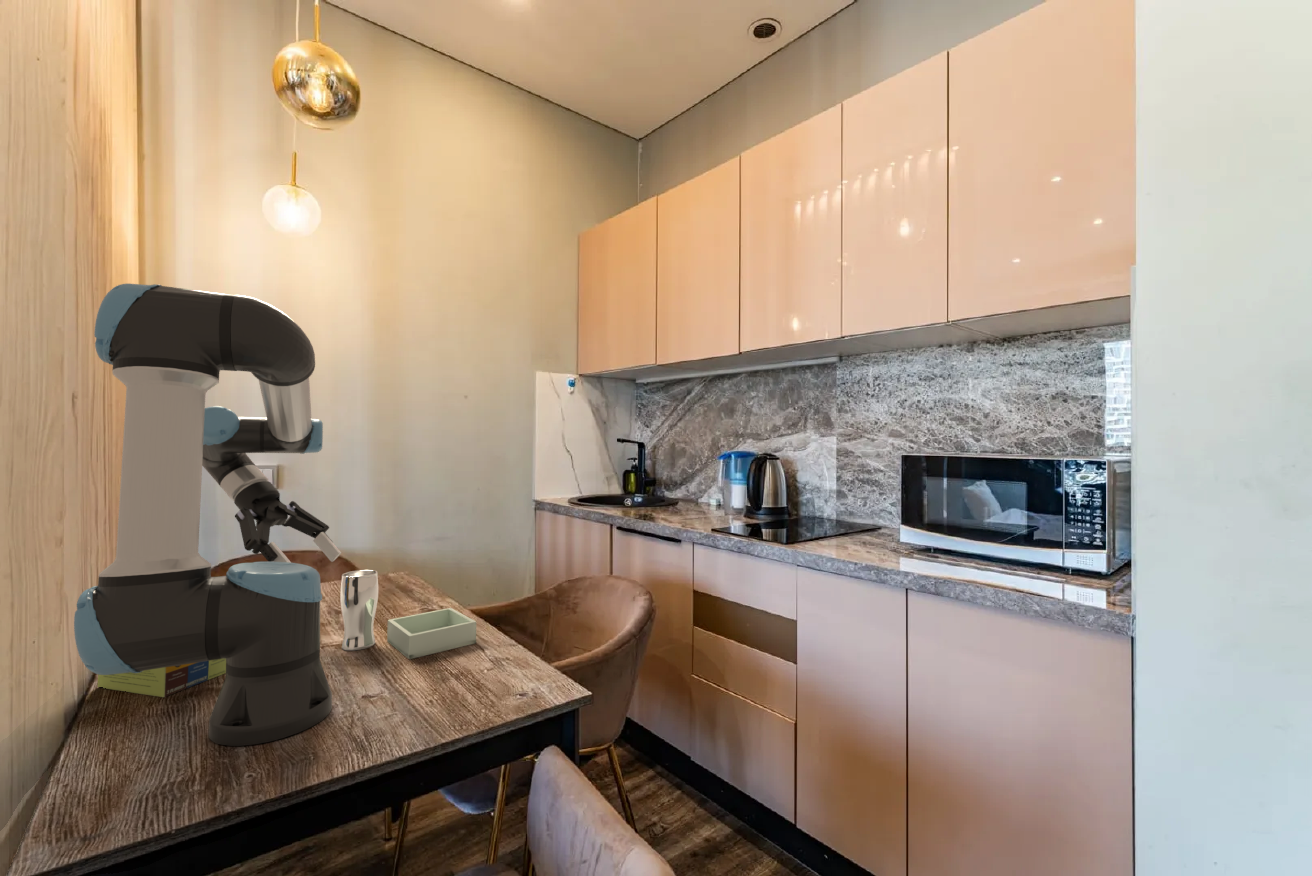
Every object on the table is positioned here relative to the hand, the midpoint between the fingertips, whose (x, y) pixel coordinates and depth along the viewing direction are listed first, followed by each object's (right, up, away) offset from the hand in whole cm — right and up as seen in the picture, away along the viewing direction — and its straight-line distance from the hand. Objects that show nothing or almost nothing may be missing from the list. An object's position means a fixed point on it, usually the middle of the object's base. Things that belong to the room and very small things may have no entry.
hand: (313, 563), depth 115 cm
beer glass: (+10, -17, -2) cm, 20 cm away
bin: (+25, -17, 0) cm, 30 cm away
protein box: (-14, -16, -19) cm, 29 cm away
